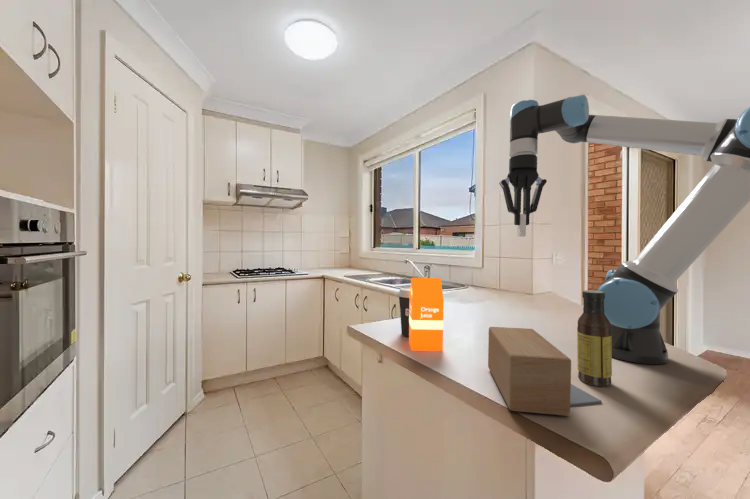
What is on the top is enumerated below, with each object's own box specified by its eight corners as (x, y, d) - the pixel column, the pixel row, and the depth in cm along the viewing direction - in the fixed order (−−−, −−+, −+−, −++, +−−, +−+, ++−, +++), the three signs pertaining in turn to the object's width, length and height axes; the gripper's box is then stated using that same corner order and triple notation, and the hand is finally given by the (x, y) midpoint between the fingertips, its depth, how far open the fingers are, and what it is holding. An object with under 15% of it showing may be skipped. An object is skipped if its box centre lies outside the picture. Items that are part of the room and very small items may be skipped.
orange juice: (408, 341, 95) (409, 276, 95) (437, 342, 95) (438, 276, 95) (411, 350, 88) (412, 279, 87) (443, 351, 88) (444, 279, 87)
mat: (501, 376, 71) (501, 374, 71) (547, 372, 73) (547, 371, 73) (546, 408, 57) (546, 406, 57) (601, 402, 60) (601, 400, 60)
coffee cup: (395, 338, 99) (396, 290, 99) (398, 330, 108) (398, 286, 108) (426, 340, 97) (427, 291, 97) (426, 331, 107) (427, 287, 107)
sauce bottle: (602, 376, 72) (604, 289, 71) (617, 389, 65) (620, 294, 65) (571, 374, 73) (573, 288, 73) (583, 386, 67) (585, 292, 66)
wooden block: (532, 370, 74) (571, 417, 54) (487, 367, 75) (509, 411, 55) (533, 328, 73) (572, 359, 54) (488, 326, 75) (510, 355, 55)
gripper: (541, 159, 96) (539, 236, 96) (496, 160, 97) (495, 236, 98) (552, 152, 88) (550, 236, 89) (503, 153, 90) (502, 235, 90)
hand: (521, 236), depth 93 cm, fingers closed
